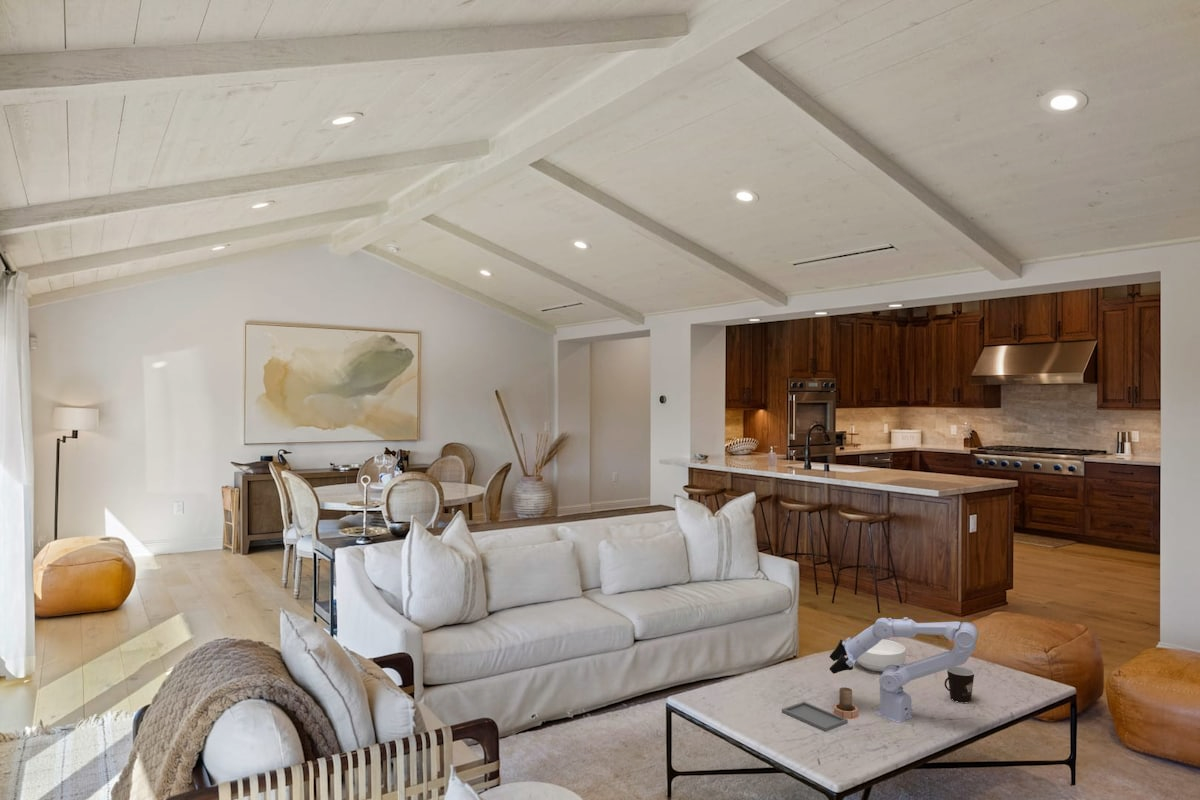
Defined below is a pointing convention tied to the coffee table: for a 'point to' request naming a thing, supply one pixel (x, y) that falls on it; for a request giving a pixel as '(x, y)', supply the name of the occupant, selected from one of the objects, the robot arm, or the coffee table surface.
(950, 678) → the coffee mug
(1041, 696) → the coffee table surface
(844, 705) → the walnut peg
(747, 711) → the coffee table surface
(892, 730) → the coffee table surface
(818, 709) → the charcoal tray
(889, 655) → the bowl
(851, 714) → the terracotta cup
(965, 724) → the coffee table surface
